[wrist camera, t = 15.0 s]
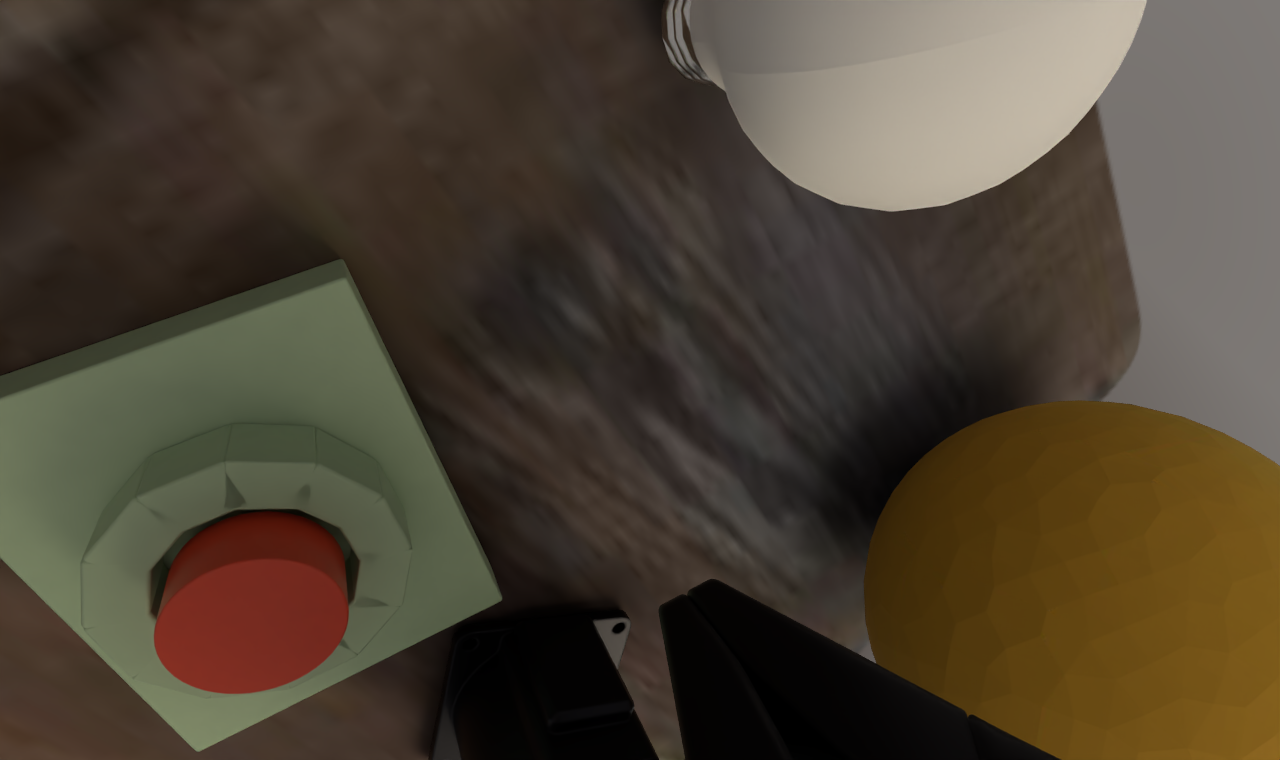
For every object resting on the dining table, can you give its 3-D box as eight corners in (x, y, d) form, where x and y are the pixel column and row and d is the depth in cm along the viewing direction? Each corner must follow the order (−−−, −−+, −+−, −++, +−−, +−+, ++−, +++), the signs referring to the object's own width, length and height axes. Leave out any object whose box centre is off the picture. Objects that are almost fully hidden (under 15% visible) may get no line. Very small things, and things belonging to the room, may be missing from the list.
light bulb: (619, 189, 19) (909, 323, 10) (537, -93, 15) (871, -287, 6) (815, 107, 20) (1225, 158, 11) (781, -168, 17) (1335, -410, 8)
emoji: (1025, 354, 34) (985, 630, 37) (787, 380, 25) (761, 733, 28) (1553, 437, 20) (1421, 857, 23) (1414, 547, 12) (1240, 1172, 15)
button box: (491, 566, 22) (518, 643, 19) (204, 704, 20) (187, 814, 17) (342, 256, 17) (350, 301, 14) (-81, 402, 14) (-176, 491, 12)
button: (369, 591, 17) (375, 641, 16) (221, 661, 16) (213, 721, 15) (302, 485, 15) (302, 530, 14) (131, 557, 14) (112, 614, 13)
